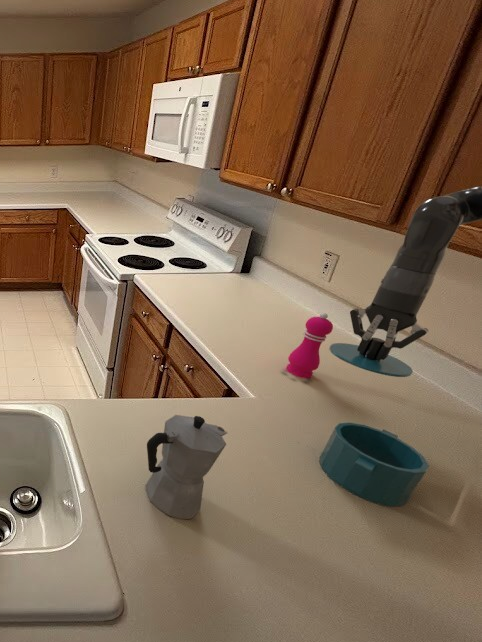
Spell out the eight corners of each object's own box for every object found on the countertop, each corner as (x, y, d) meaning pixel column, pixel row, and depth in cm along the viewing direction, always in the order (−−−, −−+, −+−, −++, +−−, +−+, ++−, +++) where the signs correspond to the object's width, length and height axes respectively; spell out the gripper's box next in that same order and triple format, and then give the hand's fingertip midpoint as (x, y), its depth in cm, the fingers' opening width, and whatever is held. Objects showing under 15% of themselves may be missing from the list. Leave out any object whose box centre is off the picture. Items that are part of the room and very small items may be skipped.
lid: (417, 369, 96) (429, 346, 93) (401, 386, 87) (414, 361, 85) (339, 342, 107) (348, 321, 104) (318, 355, 99) (328, 332, 96)
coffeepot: (183, 473, 80) (210, 397, 74) (221, 514, 72) (255, 432, 65) (114, 484, 76) (137, 405, 70) (146, 529, 68) (174, 443, 61)
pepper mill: (318, 378, 120) (347, 317, 113) (302, 382, 118) (331, 319, 110) (293, 366, 127) (318, 306, 119) (277, 369, 124) (303, 308, 116)
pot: (417, 482, 84) (438, 450, 80) (392, 525, 73) (415, 489, 70) (335, 441, 94) (351, 411, 90) (304, 473, 83) (320, 440, 80)
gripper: (452, 296, 87) (413, 366, 93) (368, 276, 97) (339, 341, 104) (445, 301, 83) (405, 375, 89) (358, 280, 93) (328, 347, 100)
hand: (370, 356), depth 97 cm, fingers closed on lid, 2 cm apart
